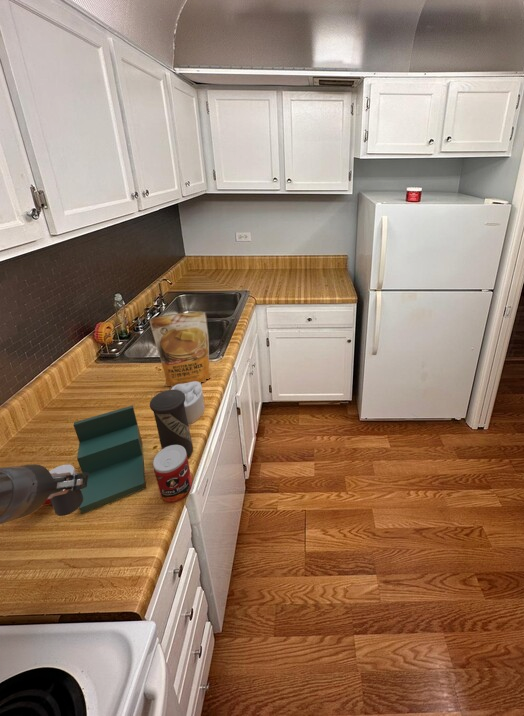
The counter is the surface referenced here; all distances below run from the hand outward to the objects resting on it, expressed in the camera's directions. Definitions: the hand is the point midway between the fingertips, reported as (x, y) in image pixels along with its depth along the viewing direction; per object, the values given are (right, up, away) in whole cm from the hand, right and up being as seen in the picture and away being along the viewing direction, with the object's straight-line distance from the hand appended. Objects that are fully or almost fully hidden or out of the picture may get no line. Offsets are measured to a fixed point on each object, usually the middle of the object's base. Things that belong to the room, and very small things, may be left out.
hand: (68, 481), depth 65 cm
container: (+9, -9, +31) cm, 33 cm away
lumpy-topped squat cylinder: (+6, -3, +47) cm, 47 cm away
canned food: (+13, -14, +20) cm, 27 cm away
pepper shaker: (0, -5, 0) cm, 5 cm away
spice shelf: (-6, -12, +24) cm, 27 cm away
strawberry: (-17, -15, +17) cm, 28 cm away
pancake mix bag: (0, +3, +62) cm, 62 cm away
